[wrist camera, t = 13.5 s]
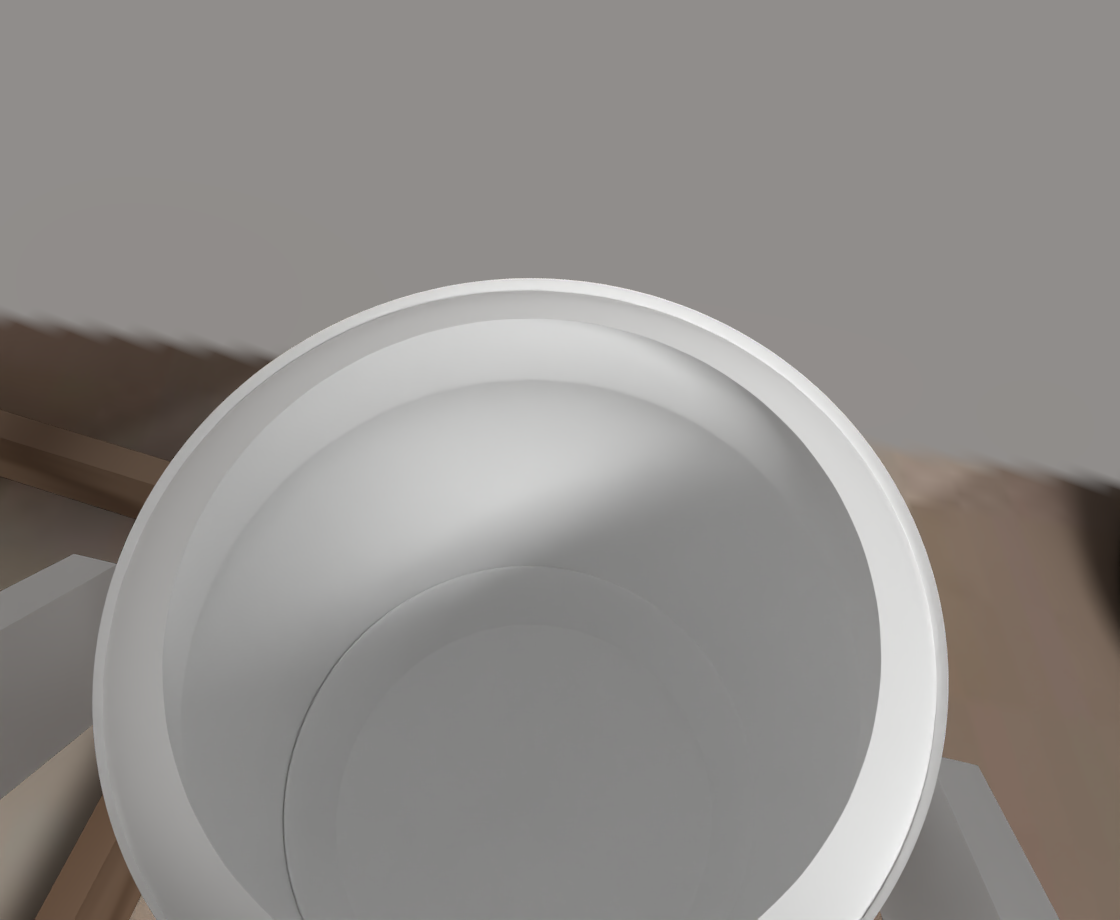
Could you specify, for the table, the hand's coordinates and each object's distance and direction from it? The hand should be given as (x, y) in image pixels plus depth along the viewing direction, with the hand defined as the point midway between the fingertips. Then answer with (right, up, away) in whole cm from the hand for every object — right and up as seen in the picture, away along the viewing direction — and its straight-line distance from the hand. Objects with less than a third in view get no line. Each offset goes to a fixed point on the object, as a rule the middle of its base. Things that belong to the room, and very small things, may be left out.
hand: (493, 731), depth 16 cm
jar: (0, -5, +9) cm, 11 cm away
